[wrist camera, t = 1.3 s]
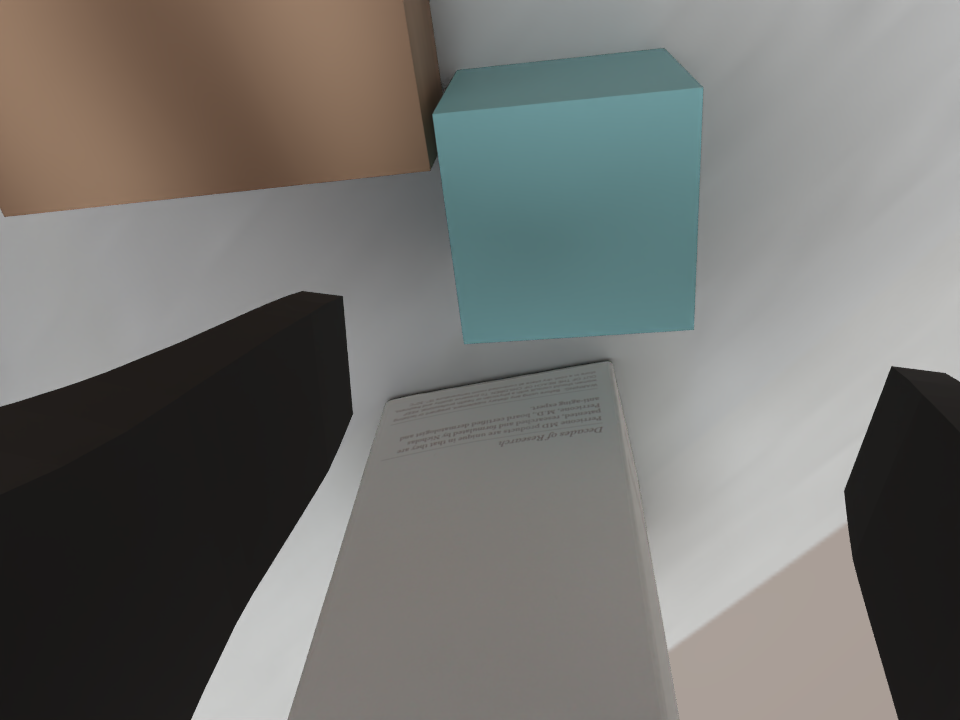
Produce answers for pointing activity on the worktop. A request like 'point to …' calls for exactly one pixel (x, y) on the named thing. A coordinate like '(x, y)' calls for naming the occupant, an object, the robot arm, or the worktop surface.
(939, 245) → the worktop surface
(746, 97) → the worktop surface
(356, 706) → the supplement box
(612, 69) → the teal cube
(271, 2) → the walnut block
